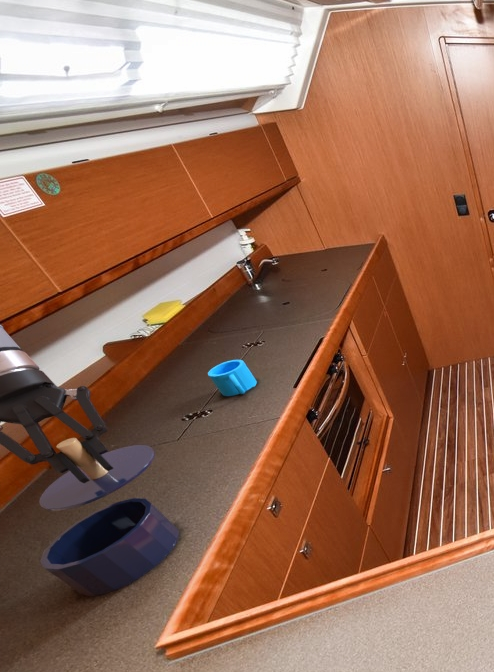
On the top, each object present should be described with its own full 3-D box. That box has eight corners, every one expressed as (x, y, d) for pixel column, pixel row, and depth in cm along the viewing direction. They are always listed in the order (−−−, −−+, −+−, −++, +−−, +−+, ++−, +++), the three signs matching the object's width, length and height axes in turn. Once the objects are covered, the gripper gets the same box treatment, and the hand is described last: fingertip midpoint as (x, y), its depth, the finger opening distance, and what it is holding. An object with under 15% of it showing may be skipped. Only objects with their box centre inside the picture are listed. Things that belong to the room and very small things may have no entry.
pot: (68, 575, 78) (29, 548, 73) (163, 516, 89) (134, 488, 84) (94, 610, 73) (55, 582, 68) (192, 542, 83) (163, 514, 79)
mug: (220, 390, 125) (205, 369, 121) (253, 376, 130) (240, 356, 126) (229, 406, 118) (213, 385, 114) (263, 391, 124) (250, 370, 120)
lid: (32, 494, 77) (-13, 459, 72) (139, 440, 89) (107, 405, 84) (60, 525, 72) (14, 488, 67) (170, 462, 83) (138, 427, 78)
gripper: (-78, 399, 67) (22, 504, 69) (66, 351, 79) (149, 441, 80) (-54, 412, 72) (39, 510, 73) (78, 365, 84) (157, 450, 85)
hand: (96, 474), depth 77 cm, fingers closed on lid, 2 cm apart
